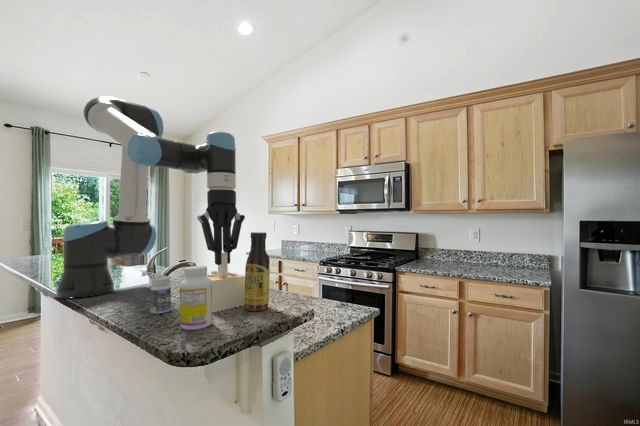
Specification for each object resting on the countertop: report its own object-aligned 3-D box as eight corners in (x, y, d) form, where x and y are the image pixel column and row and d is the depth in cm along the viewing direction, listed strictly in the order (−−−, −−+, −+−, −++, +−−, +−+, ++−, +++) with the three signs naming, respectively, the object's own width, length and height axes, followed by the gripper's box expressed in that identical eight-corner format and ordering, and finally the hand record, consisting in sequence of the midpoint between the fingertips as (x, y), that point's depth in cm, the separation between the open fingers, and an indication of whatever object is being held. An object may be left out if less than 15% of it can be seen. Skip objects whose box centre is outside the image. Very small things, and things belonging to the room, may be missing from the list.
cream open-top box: (194, 303, 89) (194, 272, 90) (227, 297, 96) (227, 268, 96) (212, 312, 81) (212, 278, 81) (248, 305, 87) (248, 273, 87)
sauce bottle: (239, 311, 81) (239, 232, 82) (252, 305, 87) (251, 231, 88) (263, 313, 79) (262, 232, 80) (274, 306, 85) (273, 231, 86)
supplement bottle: (195, 319, 75) (195, 264, 75) (218, 322, 73) (218, 265, 73) (172, 329, 69) (172, 268, 69) (197, 332, 66) (197, 270, 67)
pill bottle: (159, 314, 79) (159, 280, 80) (146, 312, 81) (145, 279, 82) (175, 309, 84) (174, 277, 84) (162, 308, 86) (162, 276, 86)
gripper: (204, 187, 81) (205, 281, 81) (249, 189, 90) (251, 274, 89) (192, 189, 87) (193, 277, 86) (236, 192, 95) (237, 271, 95)
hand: (222, 276), depth 88 cm, fingers closed
